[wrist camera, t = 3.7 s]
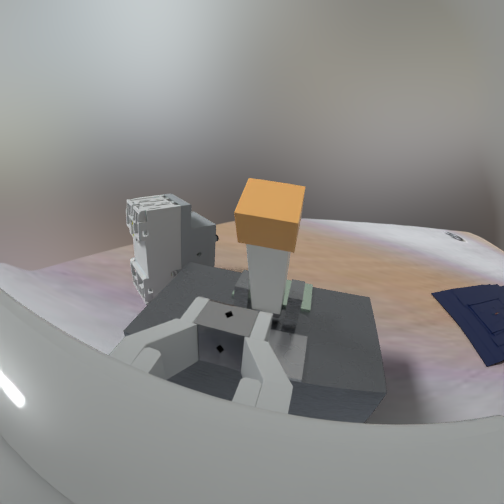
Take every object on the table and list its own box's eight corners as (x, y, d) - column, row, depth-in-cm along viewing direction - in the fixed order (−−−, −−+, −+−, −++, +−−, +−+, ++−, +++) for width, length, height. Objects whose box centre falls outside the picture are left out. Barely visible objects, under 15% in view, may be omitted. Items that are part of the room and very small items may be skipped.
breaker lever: (247, 318, 25) (234, 212, 13) (255, 292, 26) (248, 178, 15) (281, 325, 24) (298, 223, 13) (287, 298, 26) (305, 186, 14)
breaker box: (143, 395, 25) (115, 296, 19) (191, 323, 37) (189, 234, 32) (344, 446, 21) (407, 361, 15) (345, 357, 33) (378, 270, 28)
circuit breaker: (221, 282, 48) (226, 200, 42) (146, 305, 40) (137, 212, 33) (201, 265, 53) (203, 190, 47) (132, 282, 45) (125, 199, 38)
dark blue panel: (546, 341, 29) (552, 329, 27) (480, 378, 29) (490, 363, 28) (498, 290, 51) (502, 279, 49) (426, 302, 51) (431, 289, 50)
